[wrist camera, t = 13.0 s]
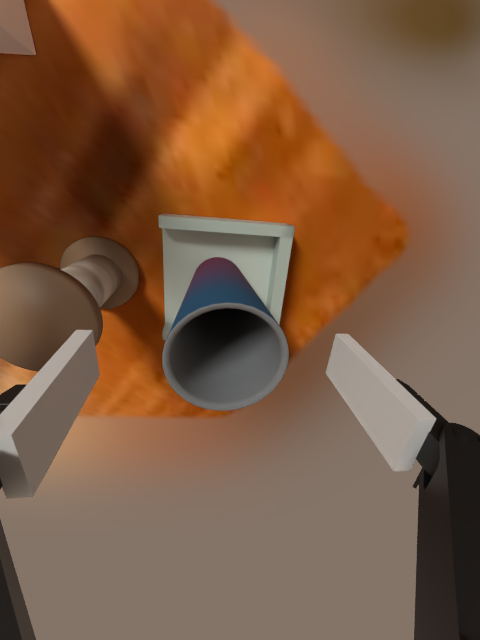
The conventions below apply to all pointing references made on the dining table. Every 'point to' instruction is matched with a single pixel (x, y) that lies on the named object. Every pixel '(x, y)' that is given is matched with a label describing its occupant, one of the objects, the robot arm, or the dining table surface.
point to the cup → (223, 341)
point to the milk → (15, 29)
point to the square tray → (224, 256)
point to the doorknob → (62, 298)
